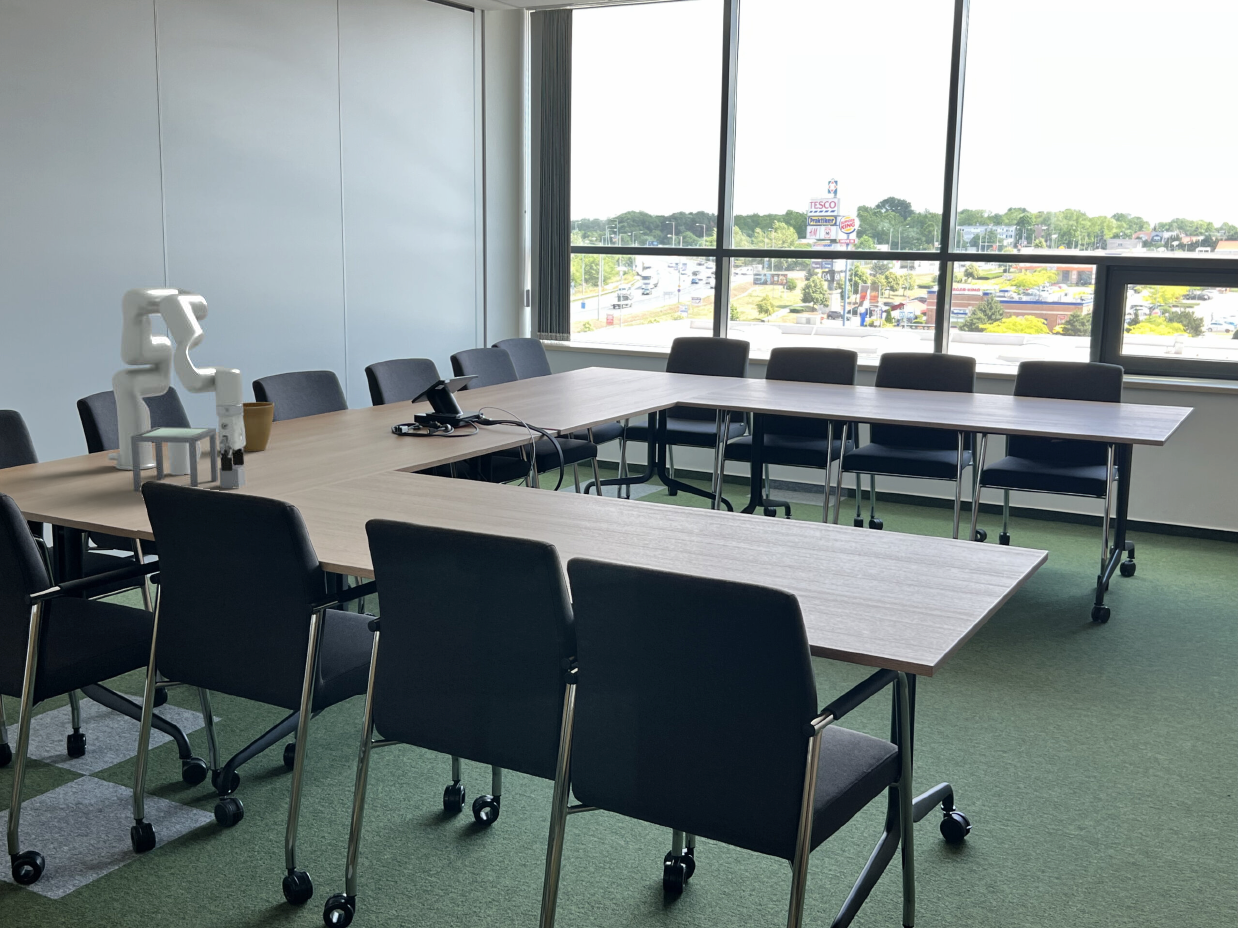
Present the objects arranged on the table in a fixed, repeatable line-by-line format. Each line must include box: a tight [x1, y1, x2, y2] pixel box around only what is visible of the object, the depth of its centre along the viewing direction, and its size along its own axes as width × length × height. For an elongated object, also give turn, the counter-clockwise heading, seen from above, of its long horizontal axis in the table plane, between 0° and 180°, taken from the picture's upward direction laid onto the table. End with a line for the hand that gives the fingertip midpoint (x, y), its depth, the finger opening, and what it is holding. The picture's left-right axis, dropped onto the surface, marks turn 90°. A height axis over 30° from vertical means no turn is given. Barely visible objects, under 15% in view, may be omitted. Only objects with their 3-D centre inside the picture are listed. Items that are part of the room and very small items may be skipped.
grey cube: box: [218, 464, 246, 489], centre depth 340 cm, size 6×6×6 cm
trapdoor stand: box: [131, 426, 219, 492], centre depth 338 cm, size 18×18×16 cm
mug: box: [167, 441, 202, 476], centre depth 357 cm, size 10×7×12 cm, turn 131°
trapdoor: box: [142, 427, 208, 437], centre depth 337 cm, size 14×14×1 cm
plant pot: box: [242, 401, 275, 452], centre depth 399 cm, size 15×15×16 cm
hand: (232, 467), depth 339 cm, fingers open, 9 cm apart
